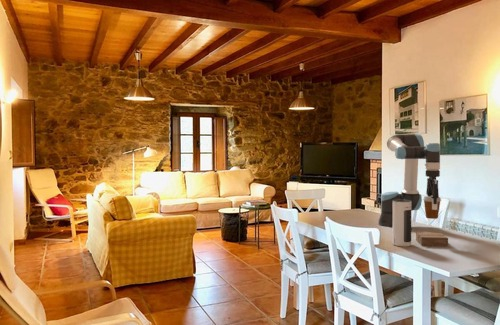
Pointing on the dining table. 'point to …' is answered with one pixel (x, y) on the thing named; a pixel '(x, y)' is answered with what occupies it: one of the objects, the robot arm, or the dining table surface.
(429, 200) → the disposable coffee cup
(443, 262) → the dining table surface
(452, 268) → the dining table surface
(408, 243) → the speaker
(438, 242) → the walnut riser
